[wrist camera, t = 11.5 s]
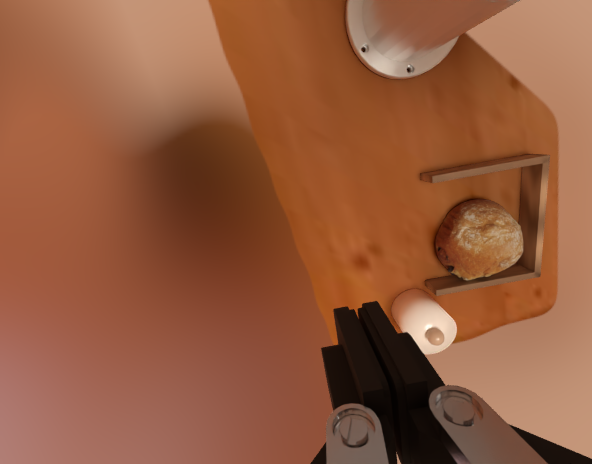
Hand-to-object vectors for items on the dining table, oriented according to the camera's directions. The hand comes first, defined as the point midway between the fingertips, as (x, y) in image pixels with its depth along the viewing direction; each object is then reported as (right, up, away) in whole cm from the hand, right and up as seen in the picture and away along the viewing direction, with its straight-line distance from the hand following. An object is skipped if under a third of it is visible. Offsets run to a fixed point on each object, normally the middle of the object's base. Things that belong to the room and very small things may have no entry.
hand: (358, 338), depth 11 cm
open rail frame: (+21, +5, +28) cm, 36 cm away
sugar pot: (+14, -7, +31) cm, 35 cm away
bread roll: (+21, +3, +29) cm, 36 cm away
